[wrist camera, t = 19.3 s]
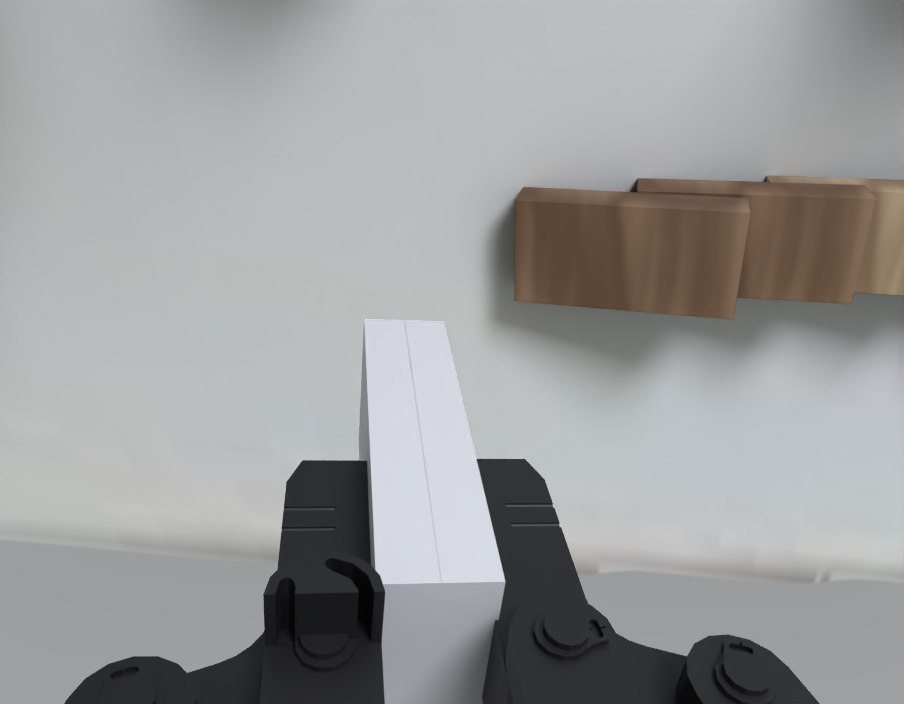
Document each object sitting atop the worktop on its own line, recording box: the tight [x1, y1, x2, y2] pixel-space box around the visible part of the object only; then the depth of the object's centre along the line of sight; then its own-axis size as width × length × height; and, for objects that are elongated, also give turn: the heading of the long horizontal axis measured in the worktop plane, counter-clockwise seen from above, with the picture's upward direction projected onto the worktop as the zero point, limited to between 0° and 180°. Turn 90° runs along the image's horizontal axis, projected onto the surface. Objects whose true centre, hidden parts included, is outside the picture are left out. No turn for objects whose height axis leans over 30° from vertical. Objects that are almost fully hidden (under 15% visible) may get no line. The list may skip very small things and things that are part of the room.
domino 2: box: [637, 178, 876, 304], centre depth 36 cm, size 2×5×10 cm
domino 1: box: [514, 187, 750, 319], centre depth 36 cm, size 2×5×10 cm
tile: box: [766, 176, 904, 295], centre depth 37 cm, size 2×5×10 cm
